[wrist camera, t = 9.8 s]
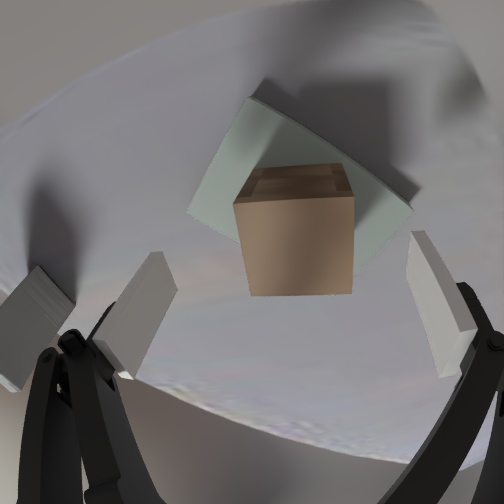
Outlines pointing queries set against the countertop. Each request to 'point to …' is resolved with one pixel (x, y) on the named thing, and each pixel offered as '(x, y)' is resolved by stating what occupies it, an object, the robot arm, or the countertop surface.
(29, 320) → the skincare box
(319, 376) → the countertop surface
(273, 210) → the cardboard shipping box
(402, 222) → the pale green flat panel
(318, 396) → the countertop surface
